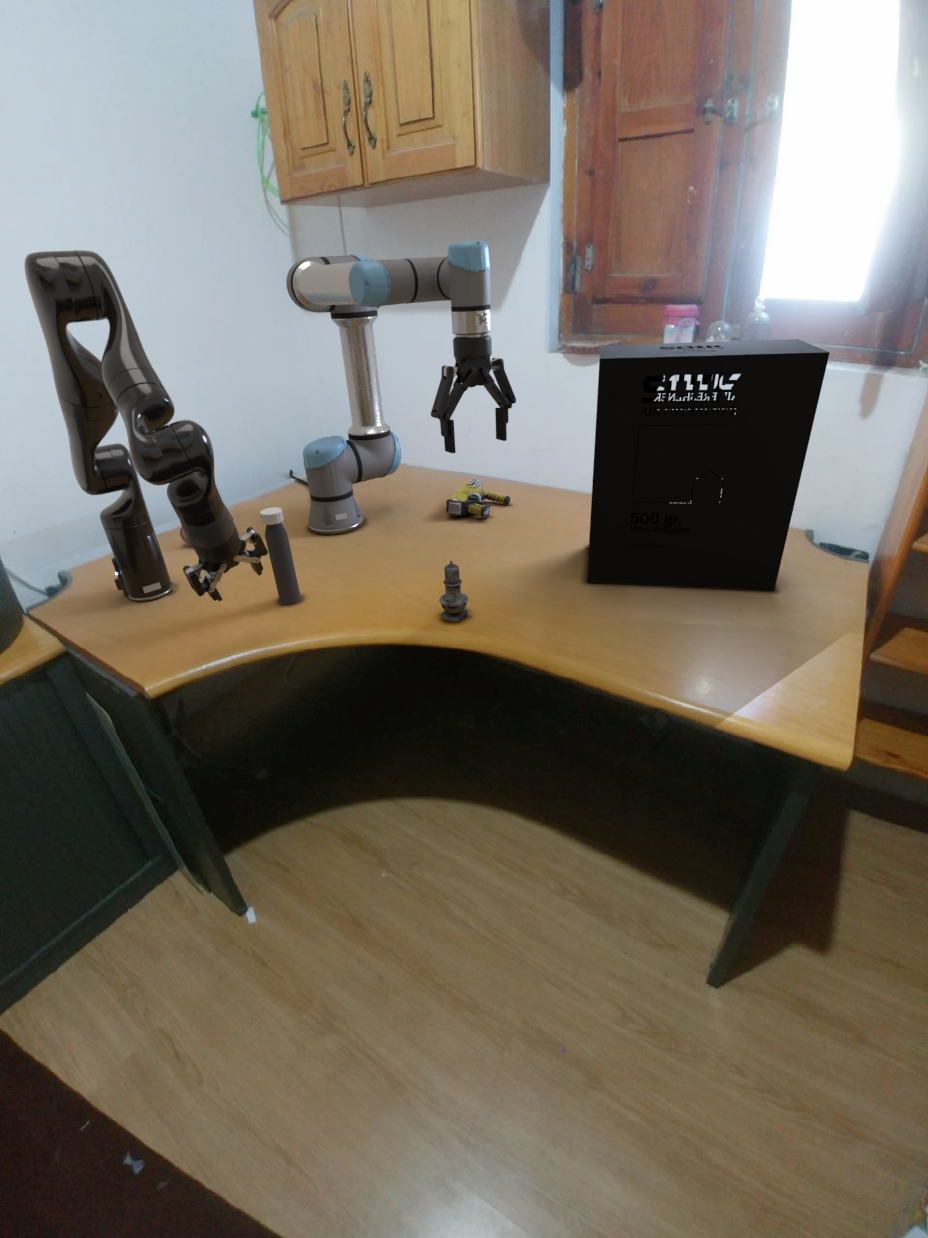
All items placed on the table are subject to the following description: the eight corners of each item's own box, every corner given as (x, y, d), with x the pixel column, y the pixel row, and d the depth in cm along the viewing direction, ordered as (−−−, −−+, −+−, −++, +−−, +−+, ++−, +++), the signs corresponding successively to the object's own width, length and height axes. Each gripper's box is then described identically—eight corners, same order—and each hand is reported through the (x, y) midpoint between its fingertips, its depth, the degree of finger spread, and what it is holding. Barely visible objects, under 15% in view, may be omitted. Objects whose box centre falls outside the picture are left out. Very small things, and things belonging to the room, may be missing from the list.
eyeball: (193, 549, 159) (187, 528, 156) (179, 545, 162) (172, 524, 159) (212, 541, 163) (206, 520, 160) (198, 538, 166) (191, 517, 163)
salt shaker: (466, 622, 119) (462, 567, 113) (437, 621, 120) (432, 566, 114) (471, 608, 123) (469, 554, 117) (443, 606, 125) (439, 553, 119)
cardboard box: (754, 550, 140) (797, 339, 118) (774, 590, 123) (829, 352, 101) (589, 545, 148) (601, 345, 125) (586, 582, 131) (599, 358, 108)
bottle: (293, 606, 129) (273, 517, 119) (275, 603, 130) (255, 515, 120) (305, 596, 132) (287, 509, 122) (288, 594, 134) (269, 508, 124)
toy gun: (518, 484, 183) (472, 477, 187) (496, 507, 163) (444, 499, 167) (517, 499, 185) (471, 492, 189) (494, 524, 165) (443, 515, 169)
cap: (275, 525, 120) (273, 515, 119) (257, 523, 121) (255, 513, 120) (288, 518, 123) (286, 508, 122) (270, 516, 125) (268, 506, 124)
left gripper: (235, 493, 102) (259, 552, 116) (158, 538, 97) (193, 594, 110) (260, 519, 99) (282, 576, 113) (183, 566, 94) (215, 619, 108)
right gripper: (429, 342, 108) (437, 460, 118) (533, 329, 120) (532, 437, 131) (407, 340, 113) (417, 454, 124) (508, 328, 125) (510, 432, 136)
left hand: (238, 584), depth 112 cm, fingers open, 8 cm apart
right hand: (476, 445), depth 127 cm, fingers open, 13 cm apart
